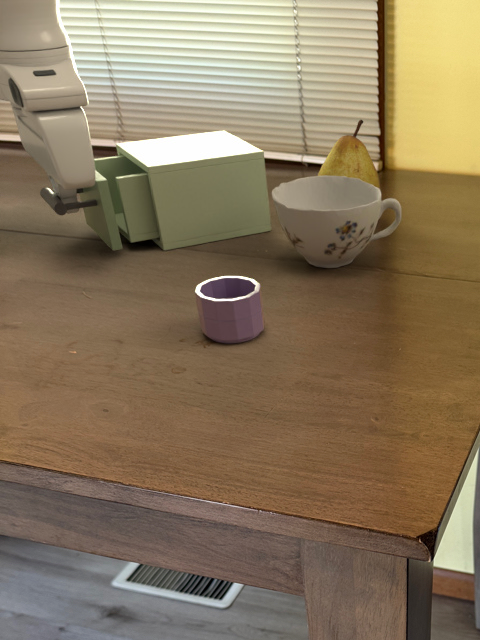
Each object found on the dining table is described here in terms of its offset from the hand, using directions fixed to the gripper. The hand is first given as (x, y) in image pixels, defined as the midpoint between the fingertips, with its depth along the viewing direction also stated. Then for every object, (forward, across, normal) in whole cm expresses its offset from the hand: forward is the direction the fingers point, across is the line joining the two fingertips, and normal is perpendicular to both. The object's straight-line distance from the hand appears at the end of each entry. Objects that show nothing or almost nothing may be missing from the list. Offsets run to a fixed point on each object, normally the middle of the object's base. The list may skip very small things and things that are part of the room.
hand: (69, 209), depth 91 cm
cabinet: (+4, 0, +16) cm, 17 cm away
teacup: (+5, +20, +26) cm, 33 cm away
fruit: (+5, +8, +34) cm, 35 cm away
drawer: (+4, 0, +7) cm, 8 cm away
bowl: (+4, +32, +7) cm, 33 cm away
